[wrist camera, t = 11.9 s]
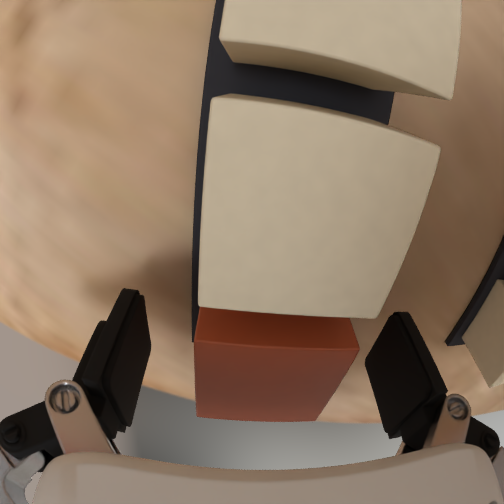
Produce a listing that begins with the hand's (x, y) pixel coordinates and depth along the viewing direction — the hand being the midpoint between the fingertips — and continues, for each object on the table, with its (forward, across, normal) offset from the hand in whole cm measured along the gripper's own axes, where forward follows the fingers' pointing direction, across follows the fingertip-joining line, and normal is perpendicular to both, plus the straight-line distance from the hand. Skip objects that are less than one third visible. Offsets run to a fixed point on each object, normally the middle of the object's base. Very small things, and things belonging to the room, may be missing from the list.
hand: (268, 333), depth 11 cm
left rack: (+2, 0, -5) cm, 6 cm away
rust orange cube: (+2, 0, 0) cm, 2 cm away
